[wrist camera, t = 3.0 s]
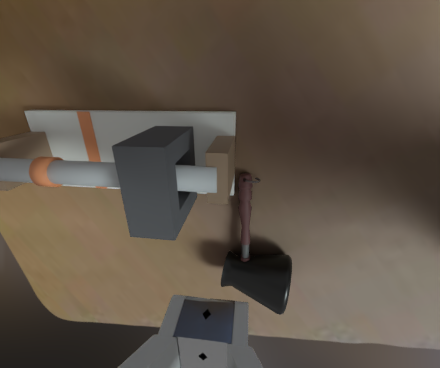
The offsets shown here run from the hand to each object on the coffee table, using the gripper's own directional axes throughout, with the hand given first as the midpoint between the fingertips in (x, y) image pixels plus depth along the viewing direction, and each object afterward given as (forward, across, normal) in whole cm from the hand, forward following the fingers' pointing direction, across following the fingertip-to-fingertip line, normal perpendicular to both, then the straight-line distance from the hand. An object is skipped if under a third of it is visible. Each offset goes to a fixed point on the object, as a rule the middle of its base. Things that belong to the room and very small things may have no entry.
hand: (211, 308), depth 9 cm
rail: (+21, +13, 0) cm, 25 cm away
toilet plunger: (+21, -3, +11) cm, 24 cm away
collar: (+17, +6, 0) cm, 18 cm away
